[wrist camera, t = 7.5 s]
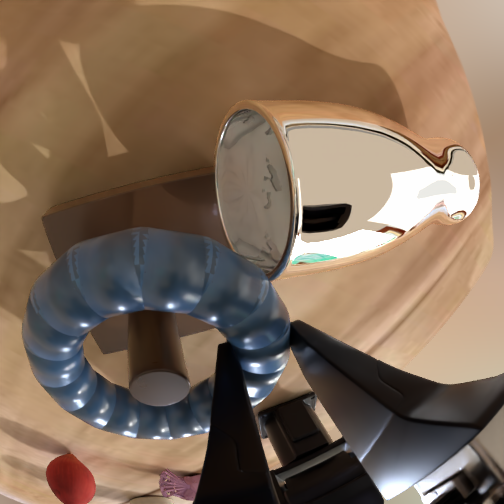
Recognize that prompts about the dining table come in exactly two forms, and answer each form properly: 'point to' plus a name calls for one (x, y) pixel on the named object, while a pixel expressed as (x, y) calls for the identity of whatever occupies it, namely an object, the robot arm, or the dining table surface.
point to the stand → (144, 322)
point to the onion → (70, 480)
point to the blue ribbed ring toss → (155, 299)
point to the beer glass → (331, 184)
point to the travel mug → (151, 500)
